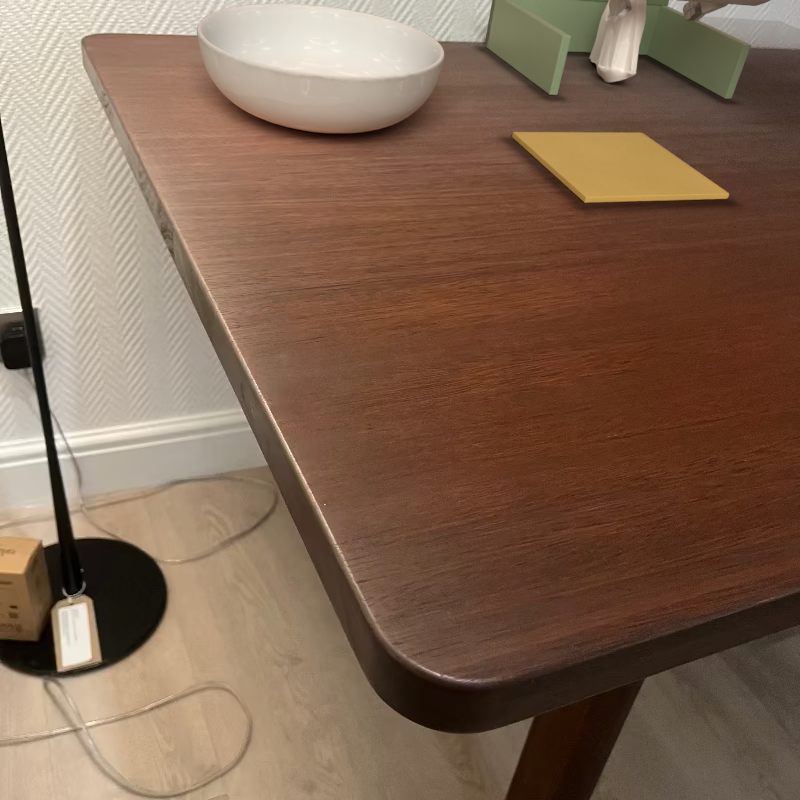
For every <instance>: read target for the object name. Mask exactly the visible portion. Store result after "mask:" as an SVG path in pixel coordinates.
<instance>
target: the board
mask: <svg viewBox="0 0 800 800" xmlns="http://www.w3.org/2000/svg"><path fill="white" fill-rule="evenodd" d="M511 138H512V139H514V140H515V141H516V142H517V143H518V144H519V145H520V146H521V147H522V148H524V149H525V151H527V152H528V153H529V154H530V155H531V156H533V157H534V158H535V159H536V160H537V161H538V162H539V163H540V164H541V165H542V166H543V167H544V168H546V170H548V171H549V172H550V173H551V174H552V175H553V176H554V177H555V178H557V179H558V180H559V181H560V182H561V184H563V185H564V186H565V187H566V188H567V189H568V190H570V191H571V192H572V193H573V194H574V195H575V196H577V198H579V199H580V200H581V201H582V202H583V203H584V204H587V203H588V204H589V203H627V202H629V203H631V202H662V201H664V202H665V201H698V200H727V199H728V198H729V196H730V193H729V191H727V190H725V189H724V188H722V187H721V186H719V184H716V183H715V182H713V181H712V180H711V179H709V178H708V177H706V176H705V175H704V174H702V173H701V172H699V171H698V170H696V169H695V168H694V167H692V166H690V165H689V164H688V163H686V161H684V160H682V159H681V158H680V157H677V155H675V154H674V153H672V152H670V150H668V149H666V148H665V147H664V146H662V145H661V144H659V143H658V142H656V141H655V140H653V139H652V138H650V136H648V135H646V134H645V133H643V132H623V131H622V132H616V131H615V132H611V131H609V132H607V131H603V132H601V131H599V132H595V131H591V132H587V131H586V132H584V131H513V132H512V137H511Z"/></svg>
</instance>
